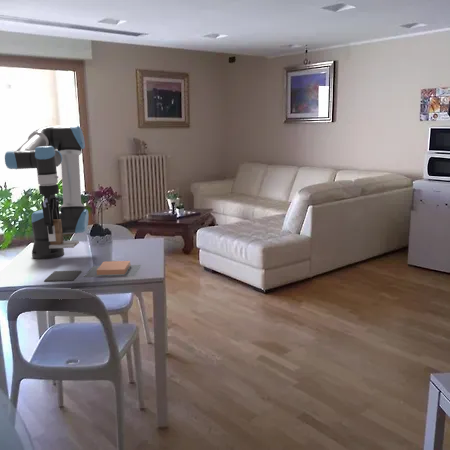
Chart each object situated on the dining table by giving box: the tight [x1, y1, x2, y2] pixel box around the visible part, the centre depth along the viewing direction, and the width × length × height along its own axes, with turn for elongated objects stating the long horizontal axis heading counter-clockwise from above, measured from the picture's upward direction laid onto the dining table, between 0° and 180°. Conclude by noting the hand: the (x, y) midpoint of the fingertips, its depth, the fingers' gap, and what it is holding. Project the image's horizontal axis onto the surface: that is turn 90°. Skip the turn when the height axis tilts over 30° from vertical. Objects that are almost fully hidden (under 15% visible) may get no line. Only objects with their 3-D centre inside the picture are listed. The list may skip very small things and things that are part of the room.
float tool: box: [49, 219, 80, 249], centre depth 196 cm, size 8×10×11 cm
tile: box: [97, 260, 132, 276], centre depth 206 cm, size 12×2×12 cm
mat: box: [83, 264, 142, 278], centre depth 206 cm, size 15×22×1 cm
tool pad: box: [43, 270, 82, 283], centre depth 200 cm, size 12×12×1 cm
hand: (54, 239), depth 197 cm, fingers closed on float tool, 4 cm apart
